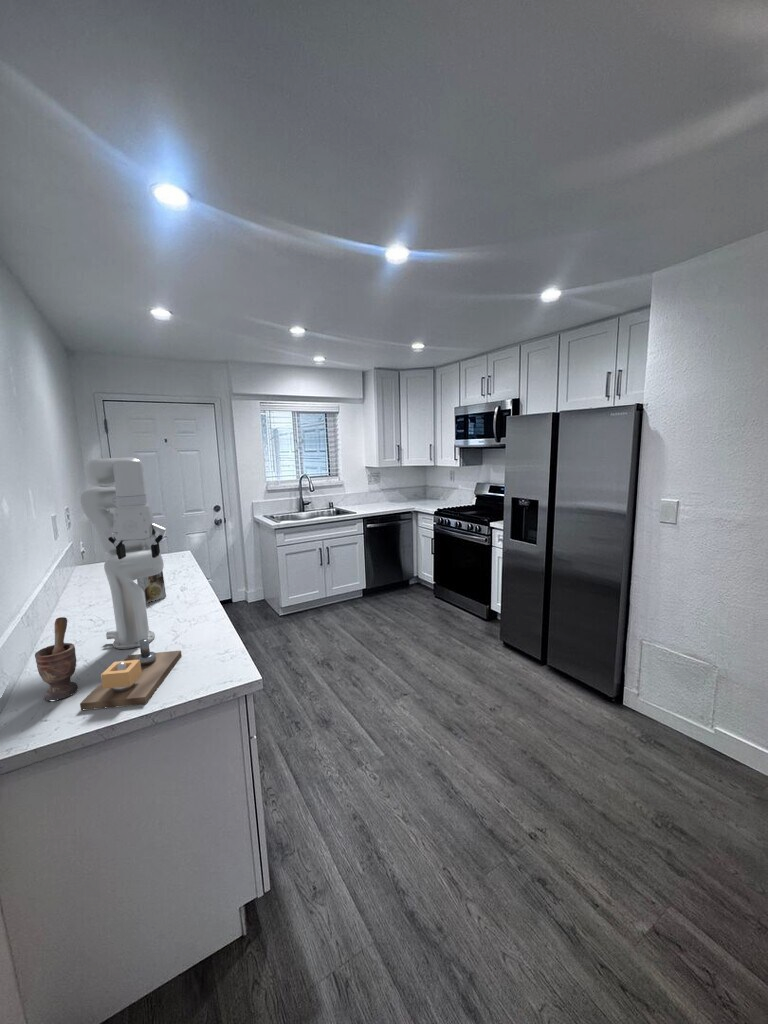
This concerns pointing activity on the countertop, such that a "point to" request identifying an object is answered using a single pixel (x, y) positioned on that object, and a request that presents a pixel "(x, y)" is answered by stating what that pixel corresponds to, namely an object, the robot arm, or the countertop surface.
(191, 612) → the countertop surface
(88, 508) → the robot arm
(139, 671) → the collar
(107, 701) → the board
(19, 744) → the countertop surface
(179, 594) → the countertop surface
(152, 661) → the shiny metal knob
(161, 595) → the coffee box
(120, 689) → the silver round flared piece
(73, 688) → the mortar and pestle
